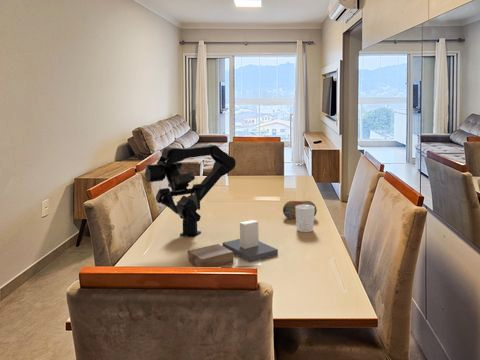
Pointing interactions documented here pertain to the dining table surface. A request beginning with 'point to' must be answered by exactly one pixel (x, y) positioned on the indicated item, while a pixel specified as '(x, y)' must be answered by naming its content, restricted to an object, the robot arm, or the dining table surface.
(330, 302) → the dining table surface
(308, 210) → the white cup
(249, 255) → the rubber mat
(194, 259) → the walnut stand
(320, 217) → the dining table surface
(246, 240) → the white rectangular block
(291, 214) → the tin
